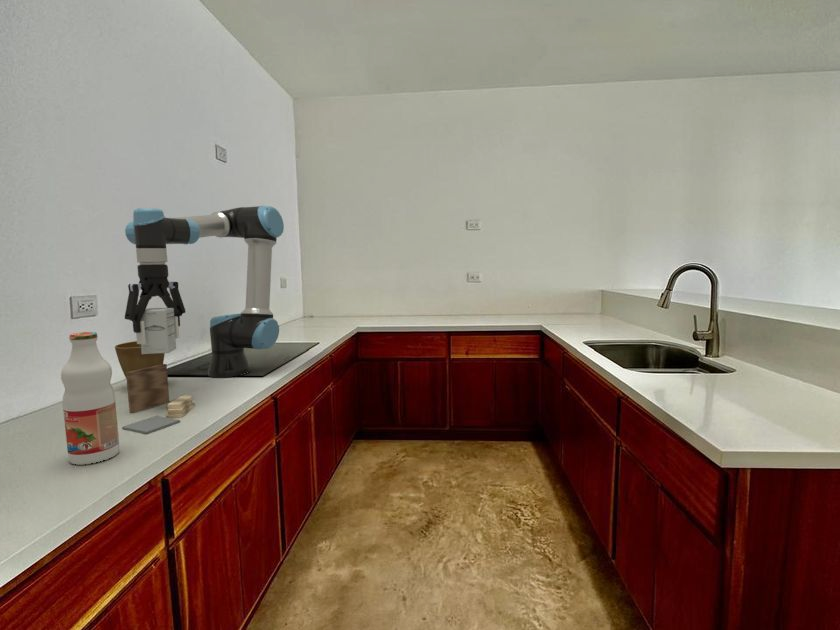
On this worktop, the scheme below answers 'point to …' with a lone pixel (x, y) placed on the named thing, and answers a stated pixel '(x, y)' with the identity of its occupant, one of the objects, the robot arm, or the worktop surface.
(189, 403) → the pine offcuts
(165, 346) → the supplement box
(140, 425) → the slate mat
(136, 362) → the plant pot
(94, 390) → the fruit juice
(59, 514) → the worktop surface
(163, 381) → the walnut rack
